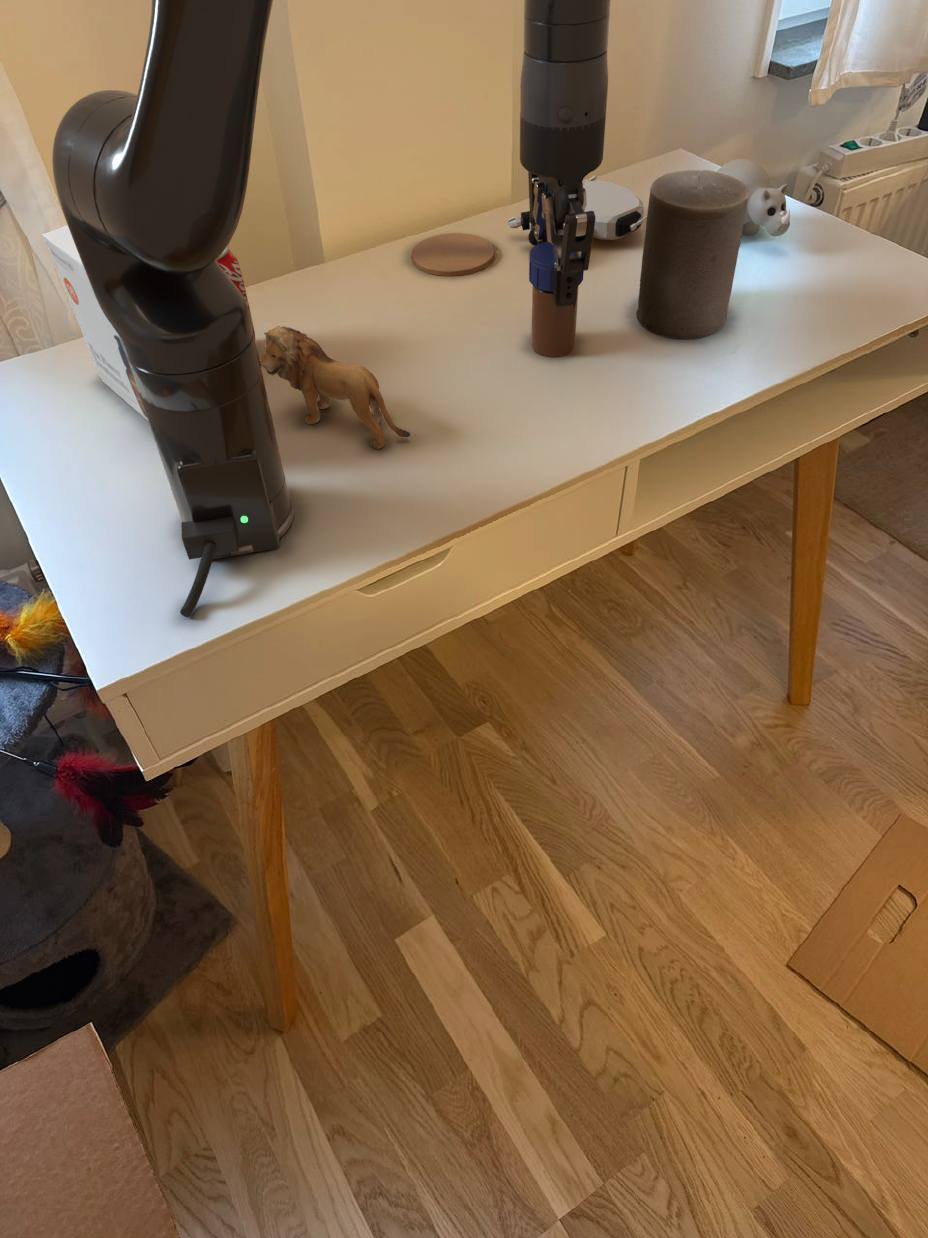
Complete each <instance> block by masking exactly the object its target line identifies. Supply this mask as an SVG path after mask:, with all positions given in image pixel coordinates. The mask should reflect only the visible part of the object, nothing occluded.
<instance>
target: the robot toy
mask: <svg viewBox="0 0 928 1238" xmlns="http://www.w3.org/2000/svg"><path fill="white" fill-rule="evenodd" d="M597 178H598V175H593V176H592V177H591V178H590V179H588V180H587V181H585V182H583V188H585V190H586V200H587V205H586V207H585V210H584V211H585V212H587V211H594V214H595V217H596V220H595V226H594V233H593V239H598V240H603V241H606V240H607V241H617V240H621V239H623V238H624V237H626V235H628V234H631V233H633V232H636V231H637V230H639V229H640V228H641V227H642V225H643V223H644V222H645V221H647V215H645V216H644V208H645V206H644V202H643V201H642V200H641V198H639V196H637V195H636V194H635V193H634V192H632V191H631V190H630V189H629V188H627V187H624V186H622V185H619V184H616V183H614V182H610V181H606V180H597ZM529 219H530V210H528V211H521V212H520V217H519V216H512V217H509V218H508V220H507V225H508V227H509V228H510V229H518V228H520V227H521V228H522V231H529V233H528V237H527V238H528V242H529V243H530V244H531V245H532V246H533V247H534V246H535V245H537V244H538V241H539V240H536V238H535V236H534V231H535V226H533V227H532V226H531V223H530V220H529ZM563 233H564V230H562V233H561V235H563Z"/></svg>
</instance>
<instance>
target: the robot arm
mask: <svg viewBox="0 0 928 1238" xmlns="http://www.w3.org/2000/svg"><path fill="white" fill-rule="evenodd" d="M273 3H274V0H151V14H150V23H149V31H148V37H147V42H146V49H145V55H144V60H143V67H142V72H141V77H140V83H139V87H138V90H137V94H136V93H133V92H129V91H126V90H118V89H105V90H104V89H103V90H99V91H94V92H92V93H89V94H87V95H85V96H83V97H81V98H80V99H78V100H77V101H75V102H74V104H72V105H71V106H70V107H69V108H68V109H67V111H66V112H65V113H64V115H63V116H62V119H60V121H59V124H58V126H57V129H56V132H55V135H54V139H53V145H52V158H51V162H52V174H53V180H54V185H55V189H56V194H57V198H58V201H59V203H60V207H61V210H62V213H63V216H64V219H65V222H66V225H68V227H69V230H70V233H71V235H72V238H73V240H74V243H75V246H76V248H77V251H78V253H79V256H80V259H81V261H82V264H83V266H84V269H85V271H86V274H87V276H88V279H89V282H90V284H91V287H92V289H93V292H94V294H95V297H96V299H97V301H98V303H99V305H100V307H101V309H102V311H103V313H104V314H105V316H106V318H107V319H108V321H109V322H110V323H111V325H112V326H113V328H114V329H115V331H116V332H117V334H118V336H119V337H120V339H121V342H122V344H123V347H124V350H125V353H126V355H127V359H128V362H129V365H130V368H131V371H132V373H133V376H134V379H135V382H136V385H137V388H138V391H139V395H140V398H141V401H142V404H143V407H144V410H145V413H146V416H147V419H148V421H147V422H148V425H149V428H150V430H151V433H152V437H153V439H154V443H155V446H156V449H157V452H158V454H159V457H160V460H161V463H162V466H163V469H164V472H165V475H166V478H167V480H168V483H169V487H170V490H171V492H172V496H173V499H174V501H175V503H176V507H177V509H178V513H179V515H180V519H181V524H180V525H181V541H182V543H183V547H184V550H185V552H186V555H187V558H188V560H194V559H200V561H199V564H198V568H197V572H196V575H195V578H194V581H193V583H192V585H191V588H190V591H189V592H188V595H187V597H186V600H185V602H184V604H183V605H182V607H181V609H180V610H179V613H180V615H181V616H182V617H184V618H190V617H191V616H192V614H193V612H194V611H195V609H196V607H197V605H198V603H199V600H200V598H201V596H202V593H203V590H204V588H205V585H206V583H207V579H208V577H209V573H210V571H211V567H212V563H213V560H217V559H222V558H229V557H235V556H243V555H247V554H251V553H259V552H264V551H269V550H276V549H279V547H280V539H281V538H282V537H283V536H284V535H285V534H286V533H287V531H288V530H289V529H290V527H291V525H292V523H293V521H294V517H295V511H294V505H293V501H292V497H291V495H290V492H289V486H288V483H287V479H286V474H285V470H284V467H283V462H282V461H283V460H282V456H281V452H280V448H279V443H278V438H277V434H276V429H275V425H274V421H273V416H272V411H271V408H270V403H269V398H268V393H267V389H266V384H265V380H264V379H265V378H264V375H263V371H262V366H261V365H260V360H261V359H260V356H259V351H258V347H257V341H256V342H255V339H256V336H255V337H254V333H253V328H252V324H251V319H250V315H249V310H248V307H247V304H246V301H245V299H244V297H243V295H242V293H241V292H240V290H239V289H238V288H237V286H236V285H235V284H234V283H233V282H232V280H231V279H230V278H229V277H228V276H227V274H226V273H225V272H224V271H223V269H222V268H221V266H220V265H219V263H218V262H217V260H216V259H217V258H218V257H219V256H220V255H221V254H222V253H223V251H224V250H225V249H226V247H227V246H228V245H229V244H230V243H231V241H232V239H233V236H234V234H235V233H236V230H237V228H238V225H239V223H240V219H241V217H242V213H243V209H244V204H245V201H246V200H245V199H246V193H247V189H248V188H247V187H248V181H249V175H250V167H251V166H250V165H251V157H252V148H253V141H254V131H255V123H256V113H257V105H258V97H259V90H260V89H259V88H260V81H261V72H262V67H263V59H264V53H265V46H266V39H267V36H268V35H267V33H268V29H269V25H270V24H269V22H270V18H271V15H272V14H271V12H272V10H273V9H272V8H273ZM611 4H612V1H611V0H523V52H522V53H523V56H522V65H521V73H520V87H519V89H520V90H519V91H520V93H519V95H520V96H519V99H520V100H519V102H520V103H519V104H520V105H519V109H520V110H519V161H520V164H521V166H522V167H523V169H524V170H526V171H527V174H528V201H529V211H530V219H529V220H530V223H531V226H532V227H533V226H535V231H534V236H535V238H536V240H539V241H538V244H540V243H543V242H547V241H548V243H549V244H550V245H552V246H553V254H554V294H553V301H554V303H555V304H556V306H558V307H561V306H568V305H573V304H575V303H576V301H577V288H578V289H579V287H578V271H584V272H585V271H588V270H589V267H590V259H591V252H592V245H593V239H594V237H593V233H594V226H595V220H596V217H595V214H594V211H587V212H585V211H584V210H585V207H586V205H587V200H586V190H585V188H583V184H584V182H583V181H584V179H585V177H587V176H588V175H589V174H590V173H592V172H595V171H596V170H597V169H598V168H599V167H600V166H601V164H602V163H603V159H604V149H605V136H606V135H605V134H606V119H607V106H608V105H607V104H608V94H609V93H608V92H609V91H608V90H609V65H608V48H609V47H608V45H609V32H610V31H609V30H610V19H611V18H610V15H611ZM562 230H564V233H563V235H561V233H562ZM561 246H562V250H561ZM571 253H573V255H574V256H570V255H571Z"/></svg>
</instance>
